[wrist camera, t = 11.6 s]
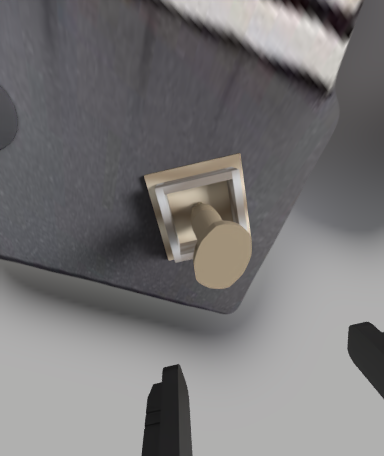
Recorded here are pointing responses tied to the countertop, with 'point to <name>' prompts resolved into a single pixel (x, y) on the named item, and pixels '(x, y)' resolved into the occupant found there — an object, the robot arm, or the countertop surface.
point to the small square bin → (196, 200)
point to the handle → (218, 248)
